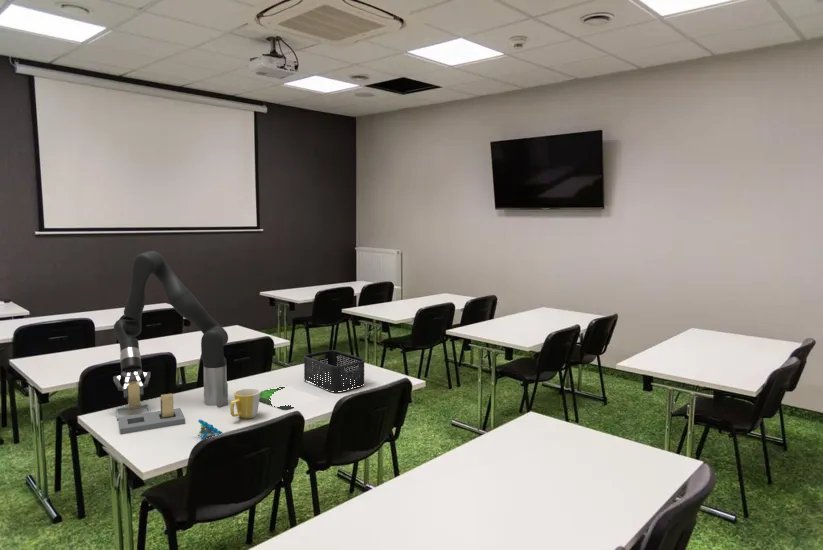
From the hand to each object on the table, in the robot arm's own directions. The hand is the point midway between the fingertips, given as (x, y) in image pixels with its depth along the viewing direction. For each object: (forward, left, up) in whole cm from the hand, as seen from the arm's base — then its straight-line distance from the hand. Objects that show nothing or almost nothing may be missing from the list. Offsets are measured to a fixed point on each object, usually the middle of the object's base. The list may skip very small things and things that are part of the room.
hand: (134, 397), depth 211 cm
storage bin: (-88, -5, -9) cm, 89 cm away
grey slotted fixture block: (-5, +12, -8) cm, 16 cm away
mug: (-38, +20, -8) cm, 44 cm away
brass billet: (0, -2, -4) cm, 5 cm away
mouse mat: (-60, +4, -9) cm, 61 cm away
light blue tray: (0, -2, -8) cm, 8 cm away
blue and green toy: (-23, +33, -9) cm, 41 cm away
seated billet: (-11, +12, -7) cm, 18 cm away
